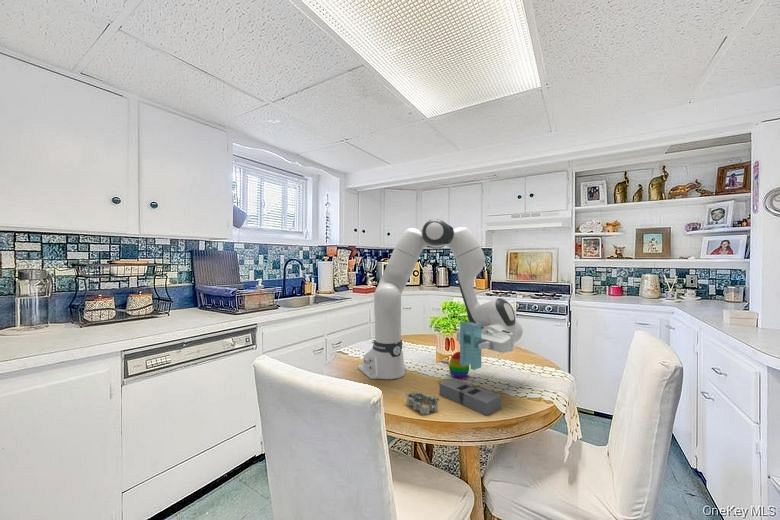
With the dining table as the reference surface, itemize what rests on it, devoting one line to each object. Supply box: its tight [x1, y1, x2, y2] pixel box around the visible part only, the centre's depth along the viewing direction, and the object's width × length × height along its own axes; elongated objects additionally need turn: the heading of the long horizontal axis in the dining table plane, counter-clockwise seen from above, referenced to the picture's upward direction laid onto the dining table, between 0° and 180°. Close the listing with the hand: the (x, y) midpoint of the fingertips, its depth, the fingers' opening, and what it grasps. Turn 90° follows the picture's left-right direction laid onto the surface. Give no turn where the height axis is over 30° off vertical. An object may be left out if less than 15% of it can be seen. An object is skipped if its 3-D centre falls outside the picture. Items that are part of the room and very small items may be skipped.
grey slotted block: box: [438, 377, 502, 416], centre depth 113 cm, size 20×8×4 cm, turn 38°
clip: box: [459, 321, 482, 371], centre depth 114 cm, size 6×4×15 cm, turn 39°
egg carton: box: [405, 391, 440, 415], centre depth 110 cm, size 11×8×4 cm
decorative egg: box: [448, 351, 470, 379], centre depth 136 cm, size 8×8×10 cm
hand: (468, 343), depth 113 cm, fingers closed on clip, 6 cm apart
